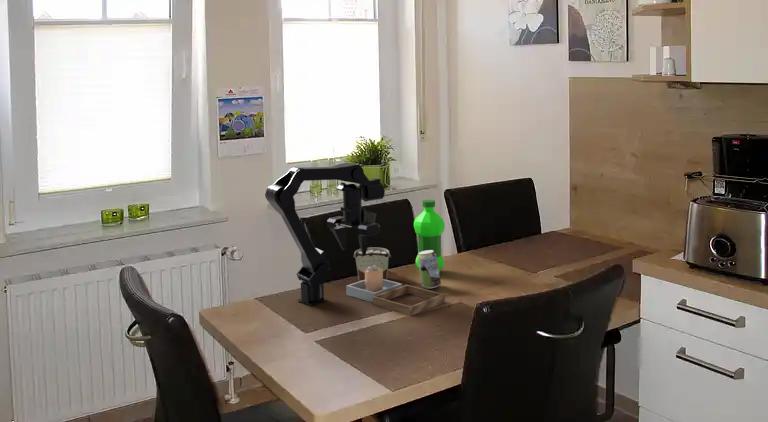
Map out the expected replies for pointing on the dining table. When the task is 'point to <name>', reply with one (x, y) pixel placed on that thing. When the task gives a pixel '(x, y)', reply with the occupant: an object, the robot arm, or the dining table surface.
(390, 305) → the brown wooden tray
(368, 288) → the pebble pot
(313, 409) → the dining table surface
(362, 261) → the food container
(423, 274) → the beverage can
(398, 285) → the tray
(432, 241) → the plastic bottle
